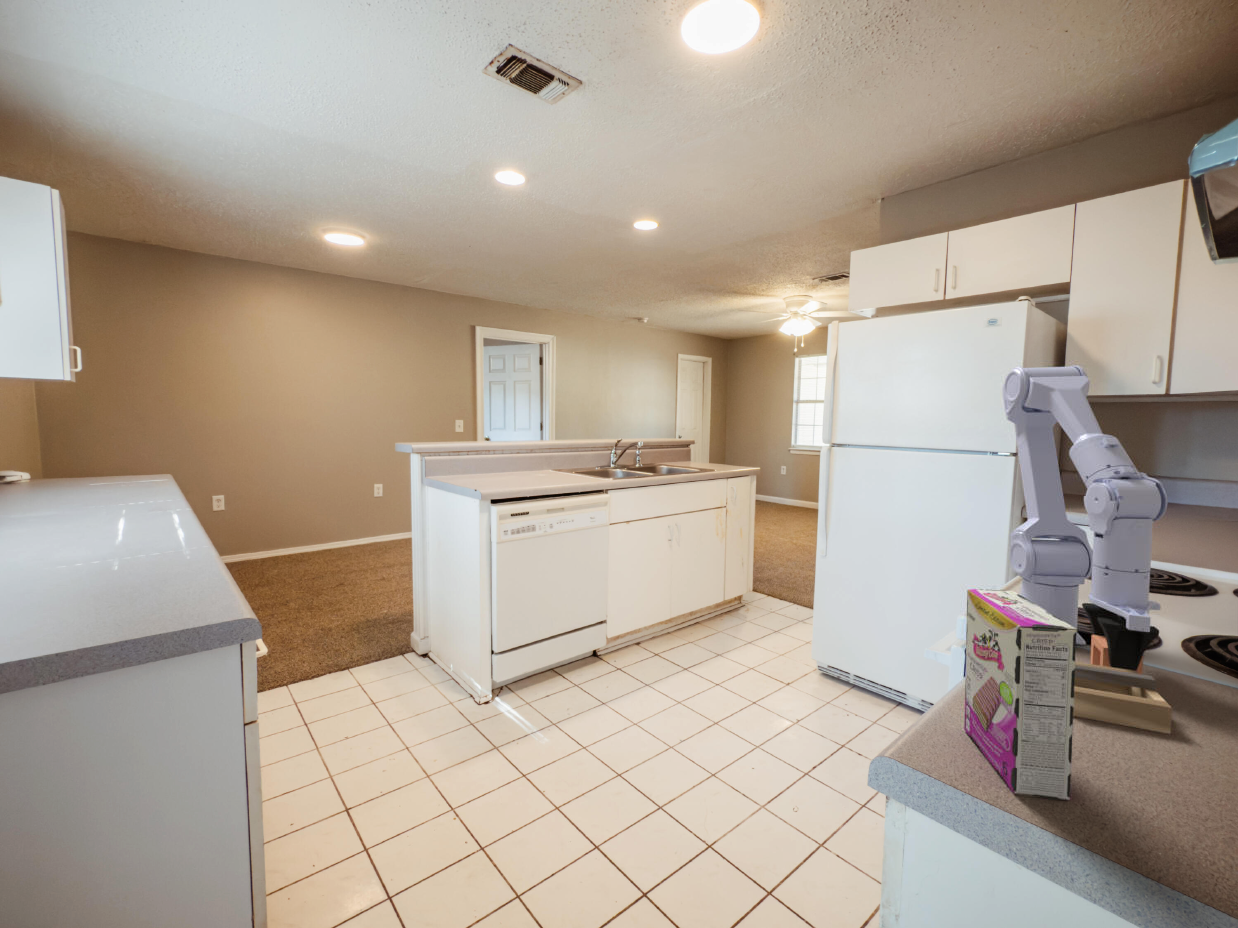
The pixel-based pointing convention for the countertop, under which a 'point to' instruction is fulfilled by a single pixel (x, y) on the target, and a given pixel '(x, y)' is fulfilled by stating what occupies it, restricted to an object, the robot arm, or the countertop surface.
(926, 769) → the countertop surface
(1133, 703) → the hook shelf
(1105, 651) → the salmon notched block
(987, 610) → the candy bar box
